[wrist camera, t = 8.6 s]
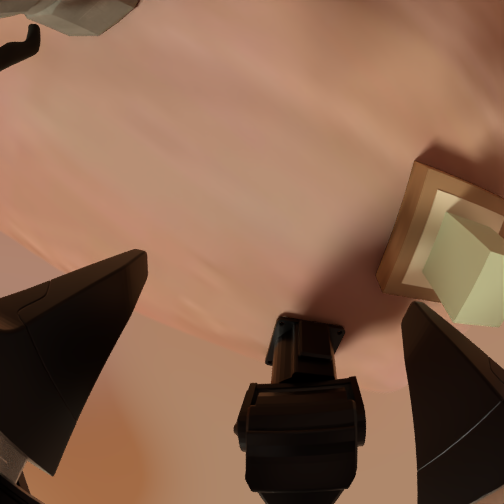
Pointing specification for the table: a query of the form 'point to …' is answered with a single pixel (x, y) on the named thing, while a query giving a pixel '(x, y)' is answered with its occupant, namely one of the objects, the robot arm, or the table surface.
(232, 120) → the table surface
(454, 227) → the sage block
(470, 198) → the walnut base
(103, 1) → the coffeepot
